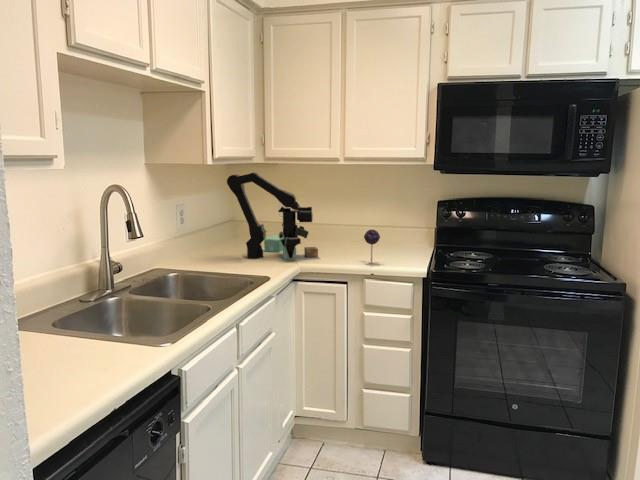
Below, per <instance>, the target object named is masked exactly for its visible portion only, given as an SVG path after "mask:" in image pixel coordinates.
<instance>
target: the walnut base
mask: <svg viewBox="0 0 640 480" xmlns="http://www.w3.org/2000/svg"><path fill="white" fill-rule="evenodd" d="M304 254H305V257H306V258H318V257H319V249H318V247H316V246H305V247H304Z"/></svg>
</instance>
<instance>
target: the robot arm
mask: <svg viewBox="0 0 640 480" xmlns="http://www.w3.org/2000/svg"><path fill="white" fill-rule="evenodd" d="M248 183H254V184H255V185H256V186H258V187H259V188H261V189H263V190H264V191H266V192H267V193H269V194H270V195H272V196H273V197H274V198H275V199H277V201H279V203H281V205H282V206H281V207H280V208H279V209H278V211H277V212H278V213H282V223H281V227H282V231H280V232H279V233H278V235H279V238H281V237H282V239H281V242H282V245H283V246H285V247H286V250H287V253H288V255H289V258H292V256H293V252H294V248H295V247H296V246H297V245H301V244H302V243H301V241H302V240H301V238H300V237H303V239H307V238H308V235H309V233H310V232H309V231H308V230H307V229H305V227H304V226H301V225H299V226H298V225H297V223H296V222H297V221H299V223H313V221H314V220H313V217H314V216H313V215H314V214H313V207H312V206H302V207H301V206H300V204H299V203H298V201H297V198H296V195H295V194H294V193H292V192H289V191H286V190H285V189H282V188H279V187H278V186H276V185H275V184H273V183H272V182H270V181H268V180H267V179H265V178H264V177H263V176H260V174H258V172H251V173H247V174H243V175H239V174H232V175H229V176H228V178H227V179H226V184H227V186H228V188H229V189H230V191H231V192H232V193H233V194H234V195H235V197H236V199H237V201H238V205H239V206H240V209H241V211H242V213H243V215H244V218H245V220H246V223H247V225H248V230H249V236H250V239H248V240H247V241H246V242H245V245H246V258H247V259H252V260H255V259H257V260H258V259H262V258H264V248H262V247H263V246H262V243H263V242H264V240H265V239H266V238H267V237H266V236H267V230H266V229H265V226H264V224H263V223H262V224H260V223H259V222H258V220H257V217H256V215H255V213H254V211H253V208H252V206H251V204H250V201H249V199H248V197H247V194H246V190H245V189H246V188H245V184H248ZM296 220H297V221H296Z"/></svg>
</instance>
